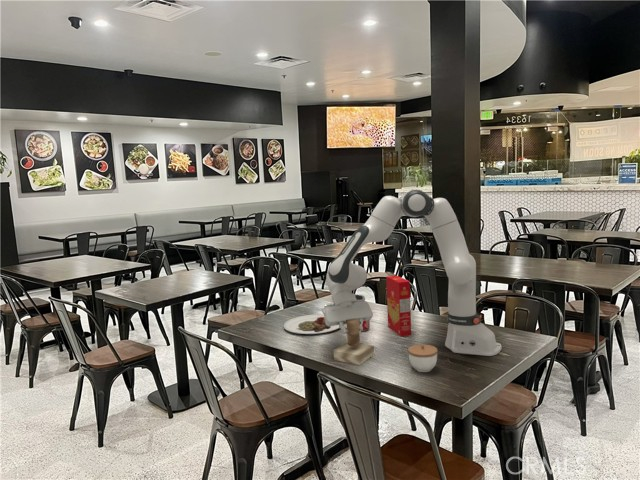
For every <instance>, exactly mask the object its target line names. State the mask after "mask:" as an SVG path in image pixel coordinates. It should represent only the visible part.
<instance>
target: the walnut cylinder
mask: <svg viewBox="0 0 640 480" xmlns="http://www.w3.org/2000/svg"><path fill="white" fill-rule="evenodd" d="M346 321H347V324H346V328H348V333H347V338H346V343H348V345H349V346H358V345H359V344H360V343H361V339H360V336H359V319H356V318H355V319H348V320H346Z"/></svg>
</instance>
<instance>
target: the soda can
mask: <svg viewBox="0 0 640 480" xmlns="http://www.w3.org/2000/svg"><path fill="white" fill-rule="evenodd" d="M370 321H371V320H367V321H363V324H362V327H363V330H362V331H361V332H366V331H369V329H370V325H371V324H370V323H371V322H370ZM359 326H360V324H359Z"/></svg>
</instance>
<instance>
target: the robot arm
mask: <svg viewBox="0 0 640 480" xmlns="http://www.w3.org/2000/svg"><path fill="white" fill-rule="evenodd" d="M403 216H405V217H410V218H419V217H425V218H426V220H427V221H428V223H429V226H430V229H431V231H432V233H433V236H434V239H435V242H436V244H437V248H438V250H439V253H440V257H441V261H442V264H443V266H444V270H445V272H446V276H447V278H448V291H447V304H448V305H447V308H448V309H447V314H446V315H447V317H446V322H447V333H446V338H445V342H444V346H445V347H446V348H447V349H449V350H450V351H452V353H456V354H465V355H466V354H467V355H477V356H486V357H493V356H496V355H498V354H499V353H500V352H501V351H502V349H503V347H502V344H501V343H499V342H497V340H496V335H495V333H494V332H493V331H492V330H491V329H490V328H488V327H487V326H486V325H485V324H484V323H482V321H481V320H482V314H480V315H479V314H478V313H477V303H476V302H477V301H476V299H477V297H476V296H477V295H476V292H477V290H476V289H477V263H476V260H475V258H474V256H473V255H472V254H470V251H469V249H468V246H467V243H466V239H465V236H464V233H463V230H462V228H461V225H460V223H459V221H458V217H457V215H456V213H455V212H454V209H453V208H452V205H451V204H450V202H449V201H448V199H446V198H444V197H436V198H432V197H431V196H430V195H428V194H427V193H426V192H424V191H423V190H420V189H411V190H409V191H407V192H405V193H404V194H403V195H402V196H401V197H399V198H398V197H395V196H394V195H393V196H392V195H385V196H383V197H382V198H381V199H380V200H379V202H378V203H377V204H376V206H375V207H374V209H373V211H372V212H371V215H370V216H369V218H368V219H367V220H366V221H365V223H364V224H363V225H361V226H359V227H358V228H357V229H356V230H355V231H354V233H352V235H351V237H350V238H349V240H348V241H347V242H346V244H345V245H344V247H343V248H342V249H341V250H340V252H339V253H338V254H337V256H336V257H335V258H334V259H333V260H332V261H331V262H330V264H329V267H328V270H327V273H326V275H325V277H326V284H327V288H328V291H329V293H330V294H331V300H332V303H330V304H324V305H323V306H322V308H321V312H322V315H324V318H325V323H326V325H327V326H335V325H339V327H340V328H339V329H341V330H342V332H343V334H345V335H346V333H348V328H347V327H346V326H344V325H347V321H346V320H348V319H355V318H356V319H359V324H360V326H359V331H361V332H363V331H362V330H363V327H362V324H363V321H367V320H370V321H371V320H372V318H373V316H374V312H373V310H372V308H371V306H370V304H369V303H368V302H367V301H366V296H364V295H363V294H362V295H361V294H356V293H353V292H352V291H355V290H357V289H359V288H361V287H363V286H364V285H365V283H366V281H367V278H368V273H367V270H366V269H365V268H364V267H362V266H361V265H359V264H355V263H353V261H354V259H355V257H356V256H357V255H358V254H359V251H360V250H361V248H362V247H364V246H365V245H366V244H370V243H379V242H383V241H386V240H387V239H388V238H389V237H390V236H391V234H392V232H393V231H394V229H395V227H396V225H397V223H398V221H399V220H400V218H402V217H403Z"/></svg>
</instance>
